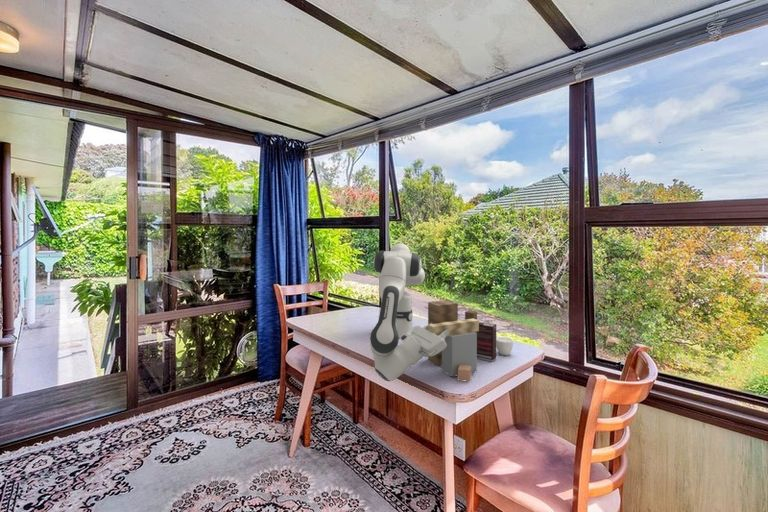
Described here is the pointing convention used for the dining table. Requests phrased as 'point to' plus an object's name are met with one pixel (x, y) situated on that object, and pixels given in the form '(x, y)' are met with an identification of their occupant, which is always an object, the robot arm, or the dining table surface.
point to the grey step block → (459, 352)
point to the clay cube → (464, 372)
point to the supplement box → (486, 341)
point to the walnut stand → (441, 319)
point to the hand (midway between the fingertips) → (440, 327)
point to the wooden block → (470, 315)
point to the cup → (504, 345)
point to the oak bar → (455, 327)
